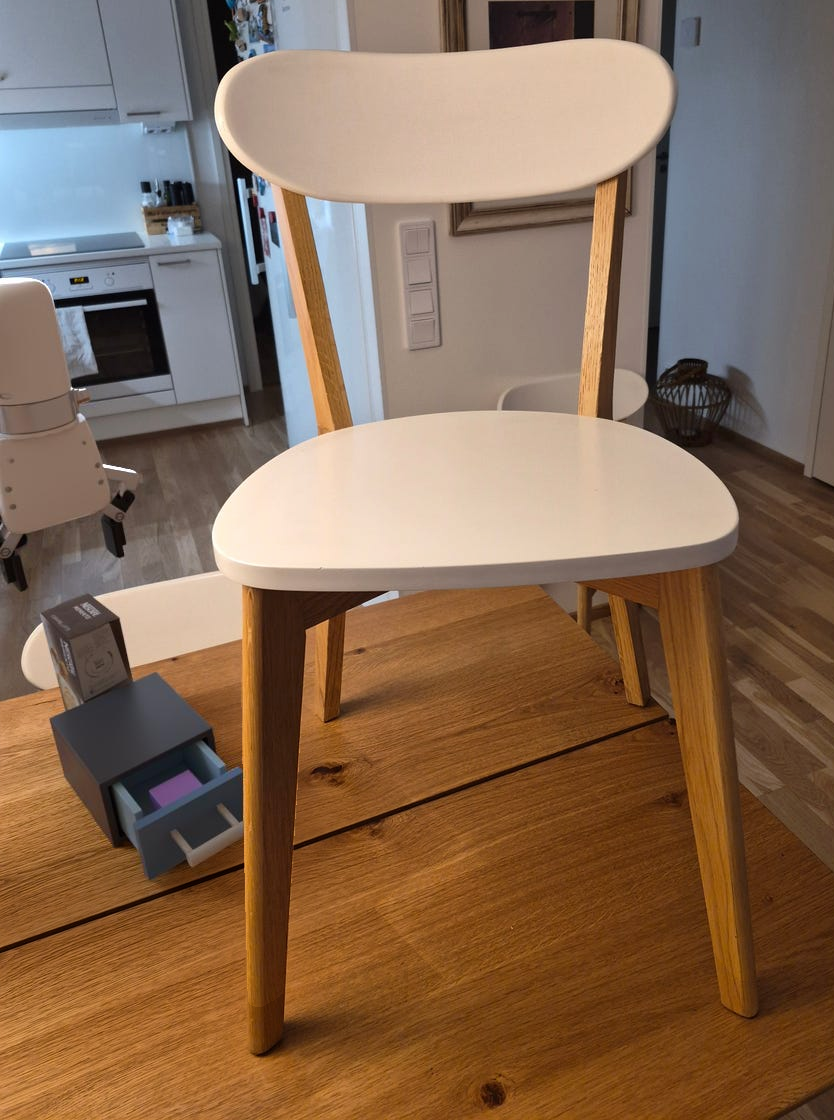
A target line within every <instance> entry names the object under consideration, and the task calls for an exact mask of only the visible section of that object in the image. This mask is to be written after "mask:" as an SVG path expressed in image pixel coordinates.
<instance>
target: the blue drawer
mask: <svg viewBox="0 0 834 1120" xmlns="http://www.w3.org/2000/svg"><path fill="white" fill-rule="evenodd" d="M227 769H228V767H227V764H226V763H225V762H224V761H223V760H222V759H221V758H220V756H218V754H217V755H216V754H215V753H214V752H213V751H212V750H211V749H210V748H209V747H208V746H207V745H206V744H205V743H204V742H203V741H202V740H199V741H197V742H195V743H193V744H191V745H189V746H187V747H185V748H183V749H181V750H179V751H177V752H175V753H173V754H171V755H170V756H168V757H166V758H164V759H162V760H160V761H158V762H156V763H154V764H152V765H150V766H148V767H146V768H144V769H142V770H140V771H138V772H136V773H134V774H132V775H130V776H128V777H126V778H124V779H122V780H120V781H118V782H116V783H114V784H112V785H110V786H109V787H108V789H109V794H110V798H111V802H112V806H113V810H114V814H115V819H116V822H117V823H118V824H119V826H120V827H121V828H122V830H123V831H124V832H125V834H126V835H127V837H128V838H129V840H130V843H132V845H133V846H134V848H135V849H136V850H137V852H138V853H139V857H140V861H141V865H142V870H143V875H144V876H145V877H146V879H147V880H148V882H151V881H153V880H154V879H157V877H159V876H161V875H163V874H165V873H166V872H168V871H169V870H171V869H173V868H175V867H176V866H178V865H179V864H182V863H183V862H184V861H186V860H187V863H188V865H189V866H190V867H191V868H194V867H196V866H197V865H199V864H201V863H203V862H204V861H206V860H207V859H210V858H211V857H213V856H215V855H216V854H217V853H219V852H221V851H223V850H224V849H226V848H227V847H229V846H231V845H232V844H234V843H235V842H237V841H239V840H240V839H242V838H244V837H245V836H244V822H243V772H244V771H243V770H242V769H241V767H240V766H236V767H234V768H232V769H230V770H229V771H228V770H227ZM187 770H190V772H191V773H192V774H193V775H194V776H195V777H196V778H197V779H198V780H199V781H200V783H201V784H202V785H203V786H201V787H199V788H197V789H195V790H194V791H192V792H190V793H188V794H186V795H184V796H183V797H181V798H179V799H177V800H175V801H173V802H172V803H170V804H168V805H166V806H164V807H162V808H161V809H159V810H157V811H155V812H153V808H152V804H151V799H150V794H149V790H151V789H153V788H155V787H157V786H158V785H160V784H162V783H164V782H166V781H168V780H170V779H172V778H174V777H176V776H177V775H179V774H181V773H183V772H185V771H187Z"/></svg>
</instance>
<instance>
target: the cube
mask: <svg viewBox="0 0 834 1120" xmlns="http://www.w3.org/2000/svg"><path fill="white" fill-rule="evenodd" d="M201 786H203V785H202V784H201V783H200V781H199V780H198V779H197V778H196V777H195V776H194V775H193V774H192V773H191V772H190V770H187V771H185V772H183V773H181V774H179V775H177V776H176V777H174V778H172V779H170V780H168V781H166V782H164V783H162V784H160V785H158V786H157V787H155V788H153V789H151V790H149V794H150V799H151V804H152V808H153V812H155V811H157V810H159V809H161V808H162V807H164V806H166V805H168V804H170V803H172V802H173V801H175V800H177V799H179V798H181V797H183V796H184V795H186V794H188V793H190V792H192V791H194V790H195V789H197V788H199V787H201Z"/></svg>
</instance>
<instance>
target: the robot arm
mask: <svg viewBox="0 0 834 1120" xmlns="http://www.w3.org/2000/svg"><path fill="white" fill-rule="evenodd" d="M58 320H59V319H58V315H57V310H56V306H55V302H54V298H53V294H52V292H51V290H50V288H49V287H48V285H46V283H44V282H42V281H40V280H38V279H35V278H29V277H3V278H0V522H1V523H0V568H1V572H2V576H3V579H4V581H5V583H6V584H8V585H9V584H13V586H15V588H16V589H17V590H18V591H19V592H20V593H22V592H25V591H27V590H28V589H29V585H28V582H27V578H26V575H25V574H26V573H25V569H24V566H23V562H22V558H21V556H20V554H19V553H18V552H17V551H16V548H17V546H18V544H19V542H20V540H21V539H22V537H23V536H24V534H28V533H34V532H36V531H40V530H44V529H47V528H50V527H54V526H57V525H61V524H63V523H67V522H70V521H75V520H78V519H80V518H84V517H87V516H90V515H93V514H95V513H98V512H100V513H102V514H103V515H101V518H100V524H101V529H102V534H103V538H104V542H105V548H106V549H107V551H108V552H109V553H110V554H112V555H113V556H114V557H115V558H118V559H121V558H124V557H125V550H124V546H126V545H127V539H126V533H125V529H124V524H123V522H124V521H125V519H126V517H127V512H128V511H129V510H130V507H131V506H132V505H133V503H134V501H135V500H136V495H135V494H136V492H137V490H138V487H139V484H140V481H141V474H139V472H137V471H135V470H133V469H128V468H124V467H119V466H118V467H117V466H114V465H108V464H104V463H103V459H102V457H101V454H100V451H99V448H98V445H97V443H96V440H95V437H94V434H93V432H92V429H91V428H90V425H89V423H88V421H87V419H86V416H84V415H83V414H82V413H80V410H79V409H80V406H82V405H83V404H85V403H89V402H90V400H91V397H90V393H89V391H88V390H87V389H86V388H81V389H79V388H74V387H72V382H71V377H70V372H69V368H68V364H67V360H66V354H65V350H64V344H63V340H62V335H61V330H60V327H59V326H60V325H59V321H58ZM109 481H115V482H120V483H121V485H120V489H119V490H118V491H117V493H116V494H115V496H114V497H113V499H112V500H111V490H110V485H109Z"/></svg>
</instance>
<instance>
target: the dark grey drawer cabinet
mask: <svg viewBox="0 0 834 1120" xmlns="http://www.w3.org/2000/svg"><path fill="white" fill-rule="evenodd" d="M49 723H50V724H49V725H50V727H51V731H52V733H53V734H52V735H53V738H54V742H55V746H56V749H57V750H56V751H57V754H58V758H59V761H60V765H61V769H62V772H63V777H64V778H65V780H66V782H67V783H68V784H69V786H70V788H72V791H73V792H74V793H75V794H76V796H77V797H78V798H79V800H80V801H81V802H82V804H83V805H84V808H86V810H87V811H88V813H89V814H90V816H91V817H92V818H93V820H94V821H95V822H96V824H97V826H98V827H99V828H100V830H101V831H102V833H103V834H104V835H105V837H106V838H107V839H108V841H109V842H110V844H111V845H112V846H113V848H116V847H118V846H120V845H121V844H123V843H126V842H127V841H129V840H130V839H129V838H128V837H127V835H126V834H125V832H124V831H123V830H122V828H121V827H120V826H119V824H118V823H117V822H116V819H115V814H114V810H113V806H112V802H111V798H110V794H109V789H108V787H109V786H110V785H112V784H114V783H116V782H118V781H120V780H122V779H124V778H126V777H128V776H130V775H132V774H134V773H136V772H138V771H140V770H142V769H144V768H146V767H148V766H150V765H152V764H154V763H156V762H158V761H160V760H162V759H164V758H166V757H168V756H170V755H171V754H173V753H175V752H177V751H179V750H181V749H183V748H185V747H187V746H189V745H191V744H193V743H195V742H197V741H199V740H202V741H203V742H204V743H205V744H206V745H207V746H208V747H209V748H210V749H211V750H212V751H213V752H214V753H215V754H216V755H217V756H218V751H217V746H216V745H217V744H216V740H215V735H214V728H213V726H211V724H209V722H208V721H206V720H205V719H204V718H203V716H201V715H200V714H199V713H198V712H197V711H196V710H195V709H194V707H192V706H191V705H190V704H189V702H187V701H186V700H185V699H184V698H183V697H182V696H181V695H180V694H179V693H178V692H177V691H176V690H175V689H174V688H173V687H172V686H171V685H170V684H169V683H168V682H167V681H166V680H165V679H164V678H163V677H162V676H161V675H160V674H159V673H158V672H157V671H154V672H152V673H150V674H147V675H145V676H142V677H140V678H138V679H136V680H133V682H131V683H129V684H127V685H124V686H122V687H120V688H117V689H115V690H113V691H111V692H108V693H106V694H104V695H102V696H99V697H97V698H95V699H92V700H90V701H88V702H86V703H83V704H81V705H79V706H76V707H74V708H72V709H70V710H67V711H63V712H61V713H58V714H56V715H53V716H52V717H49Z"/></svg>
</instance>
